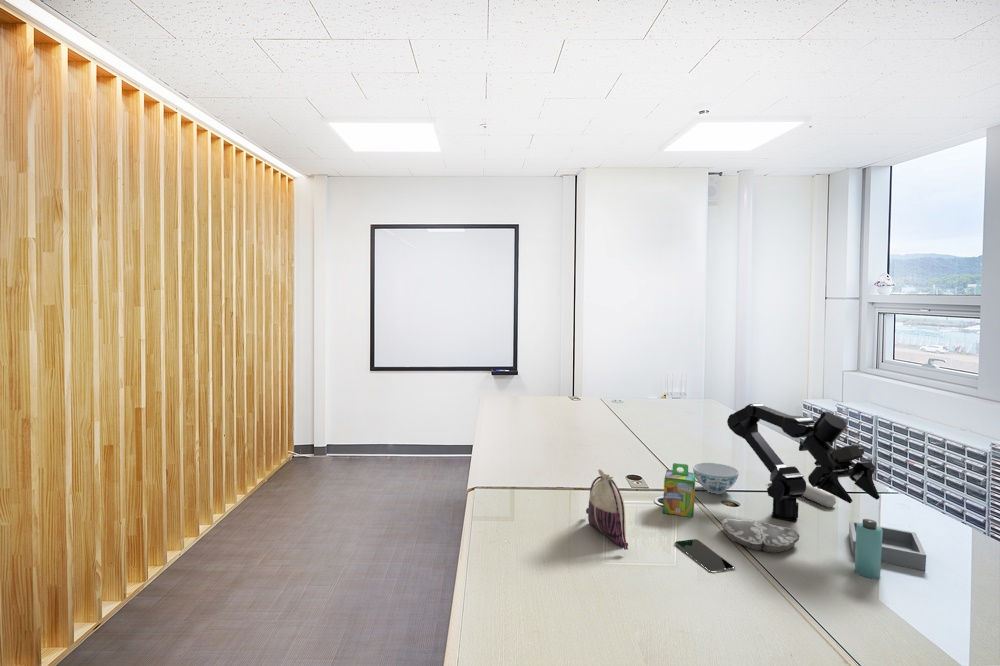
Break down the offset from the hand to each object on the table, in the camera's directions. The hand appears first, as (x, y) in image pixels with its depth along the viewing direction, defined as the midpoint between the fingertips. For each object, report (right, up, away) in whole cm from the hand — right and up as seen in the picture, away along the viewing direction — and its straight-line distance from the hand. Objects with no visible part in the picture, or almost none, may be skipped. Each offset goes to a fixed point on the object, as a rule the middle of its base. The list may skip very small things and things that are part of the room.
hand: (864, 500), depth 137 cm
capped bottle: (-5, -15, -8) cm, 18 cm away
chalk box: (-38, -13, +30) cm, 50 cm away
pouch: (-65, -14, +12) cm, 68 cm away
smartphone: (-42, -15, 0) cm, 45 cm away
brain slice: (-23, -15, +8) cm, 29 cm away
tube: (+9, -13, +45) cm, 47 cm away
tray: (+7, -15, +3) cm, 17 cm away
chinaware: (-20, -12, +48) cm, 53 cm away
